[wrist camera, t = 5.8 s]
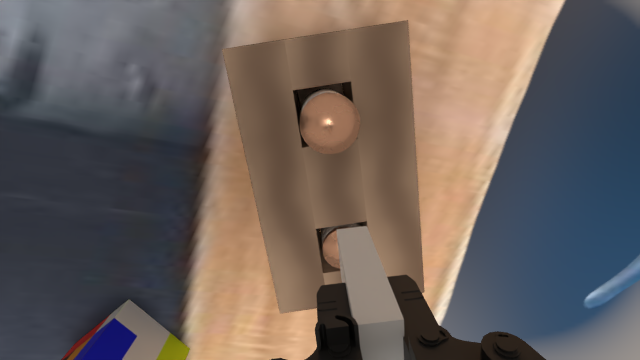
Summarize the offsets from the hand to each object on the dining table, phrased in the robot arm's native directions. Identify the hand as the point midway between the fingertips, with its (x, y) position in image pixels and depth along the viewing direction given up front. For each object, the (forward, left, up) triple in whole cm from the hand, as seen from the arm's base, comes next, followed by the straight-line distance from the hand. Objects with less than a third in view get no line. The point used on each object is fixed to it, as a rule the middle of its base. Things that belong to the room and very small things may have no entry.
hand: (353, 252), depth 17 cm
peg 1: (0, +5, -15) cm, 16 cm away
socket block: (0, -1, -20) cm, 20 cm away
